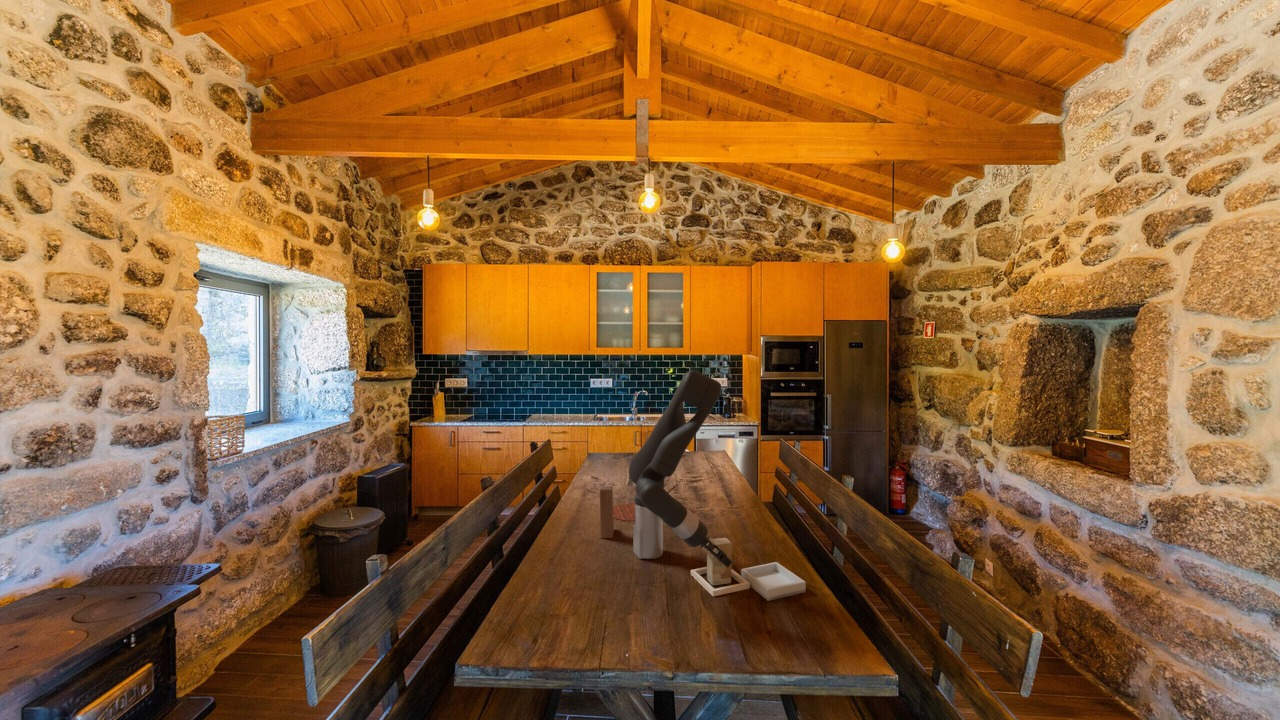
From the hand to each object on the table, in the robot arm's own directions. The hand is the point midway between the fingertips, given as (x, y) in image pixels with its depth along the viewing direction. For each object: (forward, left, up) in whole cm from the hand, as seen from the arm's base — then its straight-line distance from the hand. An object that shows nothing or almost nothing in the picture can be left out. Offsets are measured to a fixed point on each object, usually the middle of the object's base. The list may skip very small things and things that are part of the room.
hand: (724, 560), depth 149 cm
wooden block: (-22, +48, -6) cm, 53 cm away
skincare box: (-2, 0, -6) cm, 6 cm away
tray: (+11, -8, -6) cm, 15 cm away
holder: (-2, 0, -6) cm, 6 cm away
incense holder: (-1, +65, -7) cm, 65 cm away
